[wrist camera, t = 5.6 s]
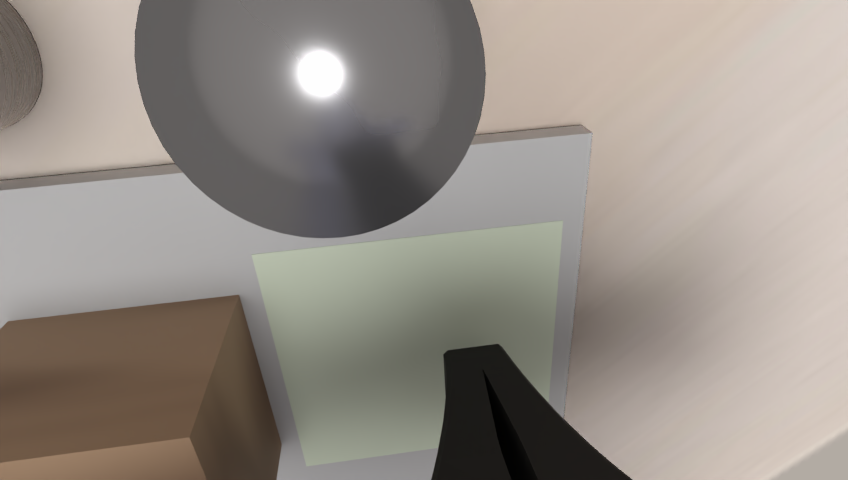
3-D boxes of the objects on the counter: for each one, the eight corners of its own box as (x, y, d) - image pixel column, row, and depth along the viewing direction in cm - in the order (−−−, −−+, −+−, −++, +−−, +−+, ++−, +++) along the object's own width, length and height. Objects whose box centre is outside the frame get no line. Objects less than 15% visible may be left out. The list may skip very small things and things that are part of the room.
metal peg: (421, 92, 11) (486, 221, 5) (274, 106, 10) (191, 253, 5) (410, -78, 9) (485, -128, 4) (239, -67, 9) (76, -104, 4)
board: (551, 457, 17) (558, 474, 16) (-254, 574, 15) (-277, 597, 14) (581, 125, 11) (592, 133, 11) (-667, 244, 10) (-728, 261, 9)
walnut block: (281, 444, 14) (257, 603, 11) (92, 470, 14) (2, 644, 10) (239, 294, 12) (189, 437, 8) (7, 321, 11) (-148, 482, 8)
